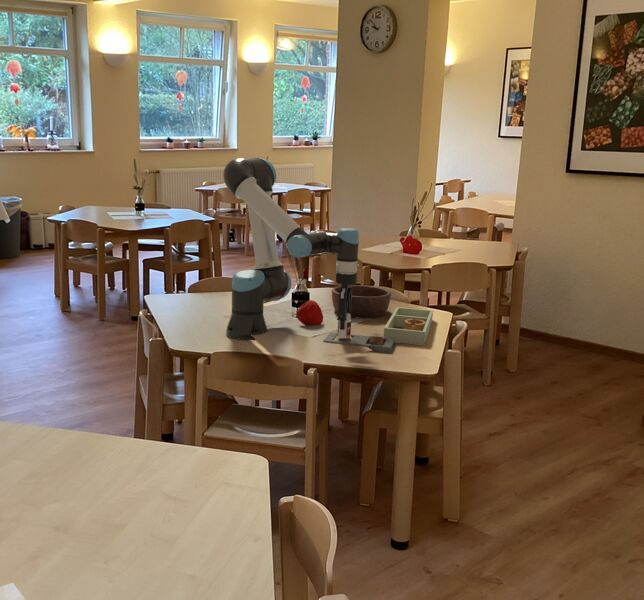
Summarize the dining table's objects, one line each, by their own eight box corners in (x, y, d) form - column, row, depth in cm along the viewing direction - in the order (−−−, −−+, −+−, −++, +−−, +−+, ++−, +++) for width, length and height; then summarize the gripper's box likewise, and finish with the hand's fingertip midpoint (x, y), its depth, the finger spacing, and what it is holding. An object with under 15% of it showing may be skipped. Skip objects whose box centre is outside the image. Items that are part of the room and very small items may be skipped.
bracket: (423, 342, 287) (425, 325, 285) (402, 340, 288) (403, 323, 287) (427, 330, 304) (428, 314, 302) (407, 328, 306) (408, 312, 304)
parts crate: (383, 341, 276) (384, 328, 275) (395, 318, 311) (396, 307, 310) (424, 345, 273) (425, 332, 272) (432, 322, 308) (433, 310, 307)
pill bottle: (340, 338, 267) (341, 316, 265) (335, 335, 271) (336, 313, 269) (352, 337, 269) (353, 315, 267) (347, 334, 273) (348, 312, 271)
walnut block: (369, 348, 266) (370, 336, 265) (369, 345, 270) (370, 333, 270) (382, 349, 266) (383, 336, 265) (381, 345, 270) (382, 333, 269)
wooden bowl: (401, 318, 314) (403, 294, 312) (354, 324, 300) (355, 299, 298) (365, 305, 334) (366, 283, 332) (319, 311, 320) (320, 287, 318)
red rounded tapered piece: (308, 329, 295) (291, 308, 294) (328, 315, 295) (311, 293, 293) (308, 335, 286) (291, 313, 284) (328, 320, 285) (311, 298, 283)
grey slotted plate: (323, 345, 266) (323, 340, 266) (330, 337, 278) (330, 332, 277) (390, 352, 261) (390, 347, 261) (394, 344, 273) (395, 338, 272)
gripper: (352, 277, 256) (349, 343, 261) (361, 269, 273) (358, 331, 278) (331, 275, 257) (328, 341, 262) (341, 267, 274) (338, 329, 279)
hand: (343, 335), depth 270 cm, fingers closed on pill bottle, 5 cm apart
